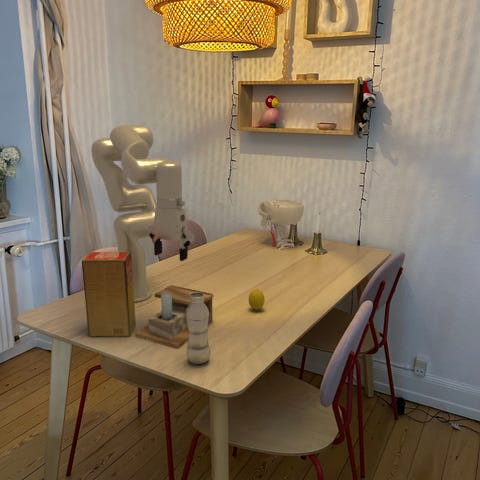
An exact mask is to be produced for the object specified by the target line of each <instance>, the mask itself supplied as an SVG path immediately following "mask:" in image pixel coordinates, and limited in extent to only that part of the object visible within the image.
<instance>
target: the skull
mask: <svg viewBox="0 0 480 480" xmlns="http://www.w3.org/2000/svg"><path fill="white" fill-rule="evenodd" d="M258 201H259V204H258V207H257V213H258V215H260V216H261V220H260V226H261V227H262V228H263V229H267V227H268V226H270V235H271V237H272V243H273V244H272V247H274V248H275V245H276V248H278V251H280V250H284V249H287V248H290V247H291V248H294V247H295V244H294V242H292V239H291V238H287V237H289V233H288V231H287V230H288V227H287V226H290V225H294V226H297V224H298V223H299V222H300V221H301V219H302V217H303V214H304V211H305V210H304V209H305V204H304V202H302V201H298V200H292V199H291V200H290V199H277V198H272V200H270V201H267V200H258Z"/></svg>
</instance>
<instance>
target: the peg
mask: <svg viewBox="0 0 480 480" xmlns="http://www.w3.org/2000/svg"><path fill="white" fill-rule="evenodd" d="M160 301H161V303H160V304H161V305H160V306H161V311H162V320H166V321H170V320H171V319H172V294H170V293H164V294H162V295H161V298H160Z"/></svg>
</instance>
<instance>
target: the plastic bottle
mask: <svg viewBox="0 0 480 480" xmlns="http://www.w3.org/2000/svg"><path fill="white" fill-rule="evenodd" d="M190 302H191V303H190V305H189V306H188V307H187V309H186V312H185V314H186V320H187V326H188V341H187V346H186V357H187V359H188V361H189V362H190V363H191V364H193V365H203V364H206V363H207V362H208V361H209V359H210V358H211V350H210V349H211V348H210V345H209V337H208V334H209V333H208V328H209V325H208V319H209V310H208V308H207V307H206V305H205V304H204V303H203V302H204V294H203V293H200V292H194V293H191V294H190Z"/></svg>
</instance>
